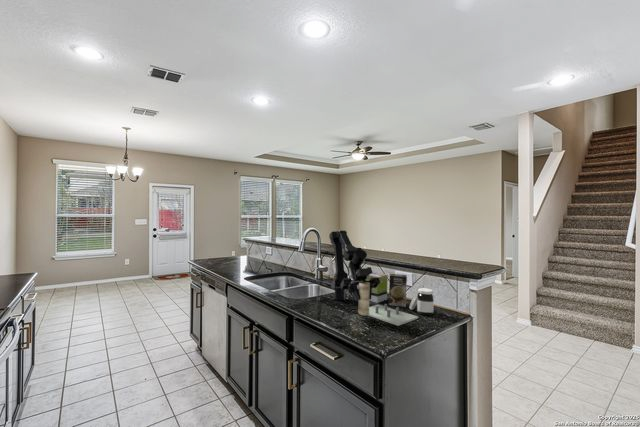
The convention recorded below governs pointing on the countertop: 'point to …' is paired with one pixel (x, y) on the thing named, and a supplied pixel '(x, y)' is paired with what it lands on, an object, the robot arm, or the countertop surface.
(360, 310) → the birch cylinder
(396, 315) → the standoff plate
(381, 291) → the tea box
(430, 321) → the countertop surface
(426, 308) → the spread jar
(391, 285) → the coffee box
